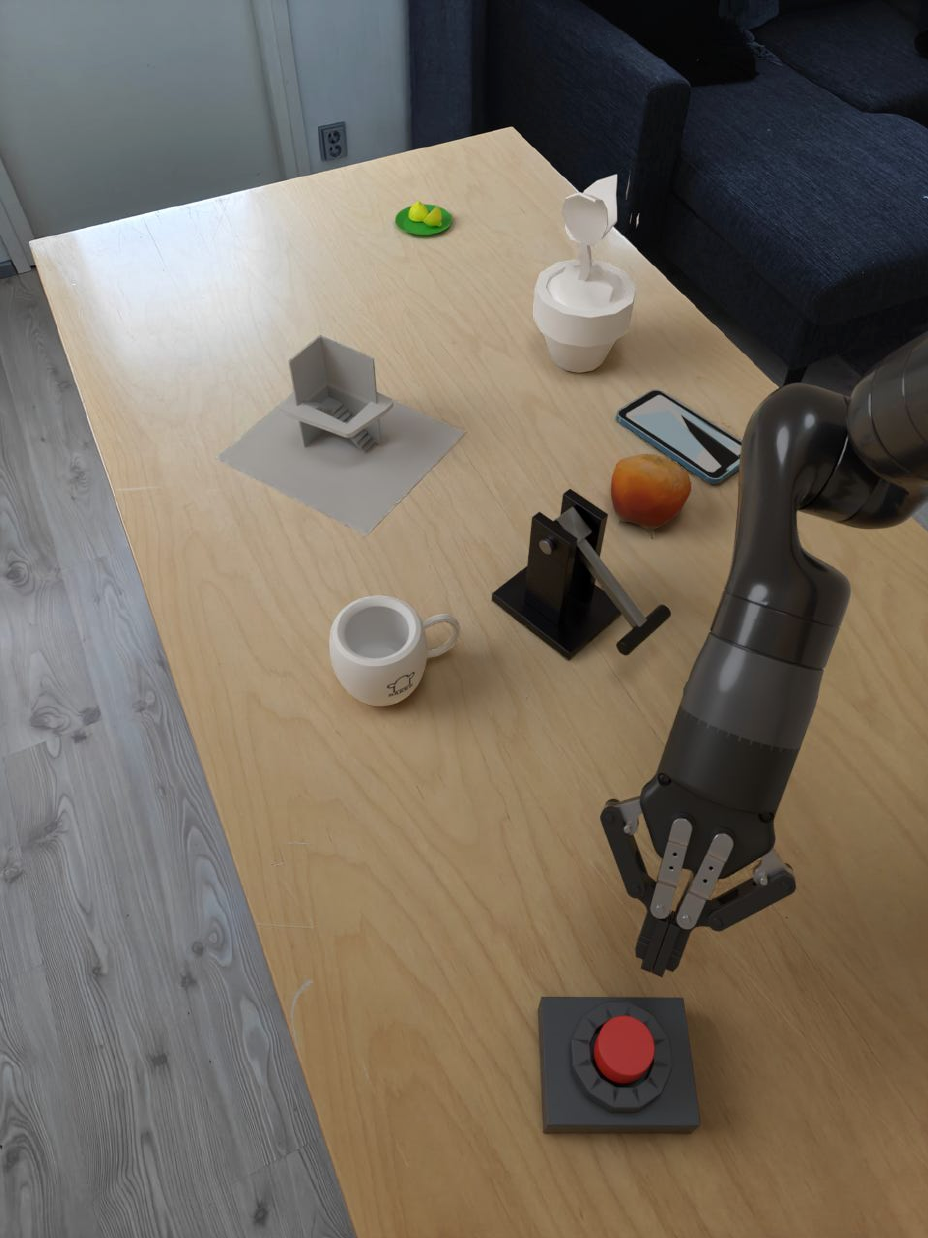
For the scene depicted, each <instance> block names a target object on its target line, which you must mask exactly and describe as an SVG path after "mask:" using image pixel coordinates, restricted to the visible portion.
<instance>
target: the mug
mask: <svg viewBox="0 0 928 1238" xmlns="http://www.w3.org/2000/svg"><path fill="white" fill-rule="evenodd" d="M440 623H447V624H449V625H450V626H451V634H450V636H449V638H448V639H447V640H446V642H445V643H443V644H441V645H440V646H437V647H435V648H432V649H428V637H427V633H426V629H428V628H431V627H432V626H434V625H436V624H440ZM460 634H461V626H460V622H459V621H458V619H457V618H455V617H454V616H453V615H451V614H447V613H441V614H435V615H432V616H431V617H428V618H426V619H424V620H422V618H421V617H420V616H419V614H418V613H417V612H416V610H415V609H413V608H412V606H410V605H409V604H408V603H407V602H405V601H404V600H402V599H400V598H397V597H394V596H390V595H383V594H374V595H368V596H364V597H360V598H358V599H355V600H353V601H352V602H350V603H348V604H347V605H346V606H344V607H343V608H342V609H341V610H340V612H339V613H338V614H337V616H336V617H335V619H334V621H333V622H332V625H331V627H330V631H329V642H328V643H329V644H328V649H329V657H330V663H331V665H332V669H333V671H334V674H335V676H336V678H337V680H338V681H339V683H340V685H341V686H342V687H343V688H344V689H345V691H346V692H347V693H348V695H350V696H351V697H353V698H355V700H357V701H359V702H360V703H362V704H365V705H368V706H373V707H388V706H393V705H395V704H398V703H400V702H402V701H403V700H405V699H407V698H408V697H409V696H410V695H411V694H412V693H413V692H414V691H415V689H417V687H418V685H419V684H420V682H421V680H422V678H423V676H424V672H425V670H426V667H427V661H428V659H430V658H435V657H438V656H441V655H443V654H444V653H446V652H448V651H450V650H451V649H452V648H453V647H454V646H455V645H456V643H457V642H458V640H459V638H460Z"/></svg>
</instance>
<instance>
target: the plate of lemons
mask: <svg viewBox="0 0 928 1238" xmlns="http://www.w3.org/2000/svg"><path fill="white" fill-rule="evenodd" d="M394 220H395V224H396V226H397V227H398V228H399V229H400V230H402V231H404V232H405V233H409V234H412V235H417V236H428V235H435V234H438V233H441V232H443V231H445V230H447V229H448V228H449V227H450V226H451V224H452V222H453V217H452V215H451V214H450V211H448V210H446V209H445V208H443V207H441V206H438V205H434V204H426V203H425V204H424V203H422V202H421V201H420V200H417V201H416V202H415V203H413V204H412V205H410V206H407V207H405V208H403V209H400V211H399V212H398V213H397V214H396V215H395V218H394Z"/></svg>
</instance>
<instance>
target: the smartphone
mask: <svg viewBox="0 0 928 1238" xmlns="http://www.w3.org/2000/svg"><path fill="white" fill-rule="evenodd" d="M615 418H616V421H617V422H618V423H619V424H621V425H622V426H624V427H625V428H627V429H628V430H630V431H632V432H633V433H634V434H636V435H637V436H639V437H640V438H642V439H643V440H645V441H646V442H648V443H649V444H651V445H652V446H654V447H655V448H656V449H658V450H660V451H661V452H662V453H664V454H665V455H667V456H668V457H669V458H671V459H672V460H674V461H676V462H677V463H679V464H680V465H681V466H682V467H685V468H686V469H687V470H689V471H690V472H692V473H693V474H695V475H696V476H698V477H699V478H701V479H702V480H704V481H705V482H706V483H709V484H715V485H716V484H720V483H721V482H723V481H724V480H726V479H727V478H728V477H731V476H732V475H733V474H734V473H736V472H738V471H739V462H740V453H741V444H742V440H740V439H738V437H736V436H734V435H732V434H731V433H729V432H728V431H727V430H725V429H723V428H721V427H720V426H718V425H717V424H715V423H714V422H712V421H710V420H709V419H707V418H706V417H704V416H703V415H701V414H700V413H698V412H697V411H695V410H693V409H691V408H690V407H688V406H687V405H685V404H683V402H680V401H679V400H677V399H676V398H674V397H673V396H671V395H669V394H668V393H666V392H665V391H663V390H661V389H656V388H655V389H651V390H649V391H647V392H646V393H644V394H642V395H640V396H639V397H637V398H635V399H634V400H632V401H630V402H629V403H627V404H626V405H624V406H623V407H621V408H619V409H618V410H617V412H616V417H615Z"/></svg>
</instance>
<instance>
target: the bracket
mask: <svg viewBox="0 0 928 1238" xmlns="http://www.w3.org/2000/svg"><path fill="white" fill-rule="evenodd" d="M571 507H574V508H575V510H576V511H577V512H578V514H579V515H580V516H581V518H582V519H583V520H584V521H585V523H586V524H587V525H588V527H589V528H590V529H591V531H592V532H591V533H590V534H589V535H588V536H586V537H585V539H586V540H587V542H588V543H589V544H590V546H591V547H592V548H593V550H594V551H595V552H596V553H597V555H598V556H599V557H600V558H601V554H602V549H603V544H604V539H605V538H604V537H605V533H606V527H607V523H608V516H609V513H607V512H606V511H604V510H603V509H601V508H600V507H598V506H597V505H595V504H594V503H593V502H591V501H589V500H588V499H586V497H583V496H582V495H581V494H579V493H578V492H576V491H574V490H573V489H572V488H569V489H567V490H566V491H565V492H563V494H562V499H561V506H560V513H559V516H560V515H562V514H563V513H564V512H566V511H567V510H568V509H570V508H571ZM577 540H578V538H576V537H575V536H574V535H572V534H571V533H569V532H568V531H566V530H565V529H564V528H562V527H561V526H559V525H558V524H557V523H555V522H554V520H553V519H551V518H549V517H548V516H546V515H545V514H543V513H542V511H538V512H537V513H535V514H534V515H533V516H532V517H531V523H530V534H529V544H528V555H527V564H526V566H525V567H523V568H522V569H521V570H520V571H519V572H516V574H514V576H512V577H511V578H509V579H508V580H507V581H506V582H504V583H503V584H502V585H501V586H499V587H498V588H497V589H495V590H494V591H493V592H491V602H492V603H494V604H495V605H496V606H497V607H499V608H501V609H502V610H503V611H504V612H505V613H506V614H508V615H509V616H511V618H513V619H514V620H515V621H517V622H518V623H519V624H520V625H522V626H523V627H525V628H526V629H527V630H529V631H530V632H531V633H532V634H534V635H535V636H536V637H537V638H539V639H540V640H541V641H542V642H544V643H545V644H546V645H548V646H549V648H552V649H553V650H554V651H556V652H557V654H559V655H561V656H562V657H563V658H564V659H566V660H567V661H570V660H572V659H573V658H574V657H575V656H576V655H578V653H579V652H581V651H582V650H583V649H584V648H585V647H586V646H588V644H590V643H591V642H592V641H594V639H596V638H597V637H598V636H599V635H600V634H601V633H602V632H603V631H605V630H606V629H607V628H608V627H609V626H611V625H612V624H613V623H614V622H616V620H617V619H618V618H619V617H620V616H622V614H621V612H620V611H619V610H618V608H617V607H616V606H615V604H614V603H613V602H612V600H611V599H610V598H609V596H608V595H607V594H606V592H605V591H604V590H603V589H602V587H601V586H600V587H599V586H598V585H597V584H596V582H597V581H596V579H595V578H594V577H593V575H592V574H591V573H590V571H589V570H588V569H587V567H586V566H585V565H584V564H583V562H582V561H581V560H580V558H579V557H578V556H577V554H576V547H577Z"/></svg>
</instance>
